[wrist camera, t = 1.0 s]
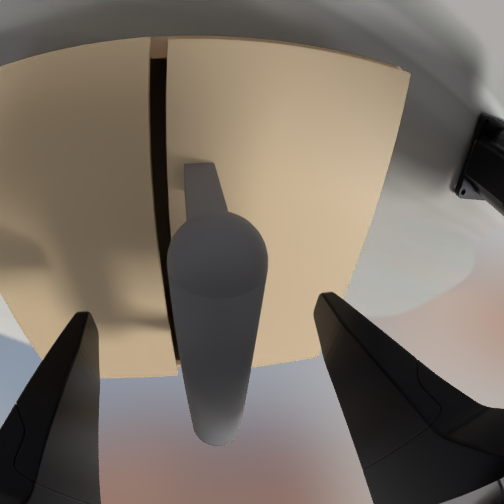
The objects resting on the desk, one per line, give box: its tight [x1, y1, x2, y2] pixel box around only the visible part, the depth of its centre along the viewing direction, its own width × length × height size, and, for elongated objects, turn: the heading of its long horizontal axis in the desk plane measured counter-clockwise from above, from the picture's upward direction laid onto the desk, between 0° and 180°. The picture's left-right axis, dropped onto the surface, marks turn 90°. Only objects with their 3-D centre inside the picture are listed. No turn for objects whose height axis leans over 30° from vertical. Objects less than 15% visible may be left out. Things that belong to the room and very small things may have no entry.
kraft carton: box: [0, 35, 402, 378], centre depth 12 cm, size 14×14×6 cm
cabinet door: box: [166, 39, 411, 446], centre depth 9 cm, size 7×14×5 cm, turn 174°
